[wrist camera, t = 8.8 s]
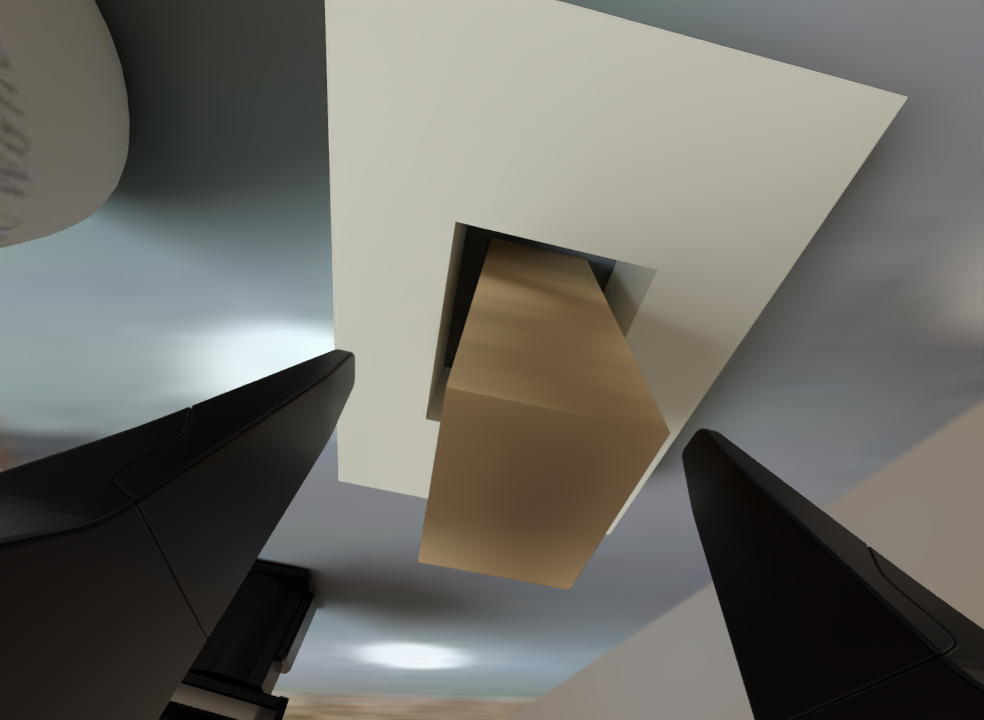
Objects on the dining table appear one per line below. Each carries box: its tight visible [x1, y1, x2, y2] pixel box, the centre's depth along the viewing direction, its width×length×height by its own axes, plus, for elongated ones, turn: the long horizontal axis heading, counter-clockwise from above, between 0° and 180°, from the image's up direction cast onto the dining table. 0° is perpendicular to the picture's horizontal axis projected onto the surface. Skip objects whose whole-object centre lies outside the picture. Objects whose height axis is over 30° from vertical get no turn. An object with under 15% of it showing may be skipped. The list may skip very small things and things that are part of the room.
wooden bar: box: [418, 238, 670, 590], centre depth 11 cm, size 4×5×9 cm
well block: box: [325, 0, 908, 535], centre depth 13 cm, size 12×16×4 cm
